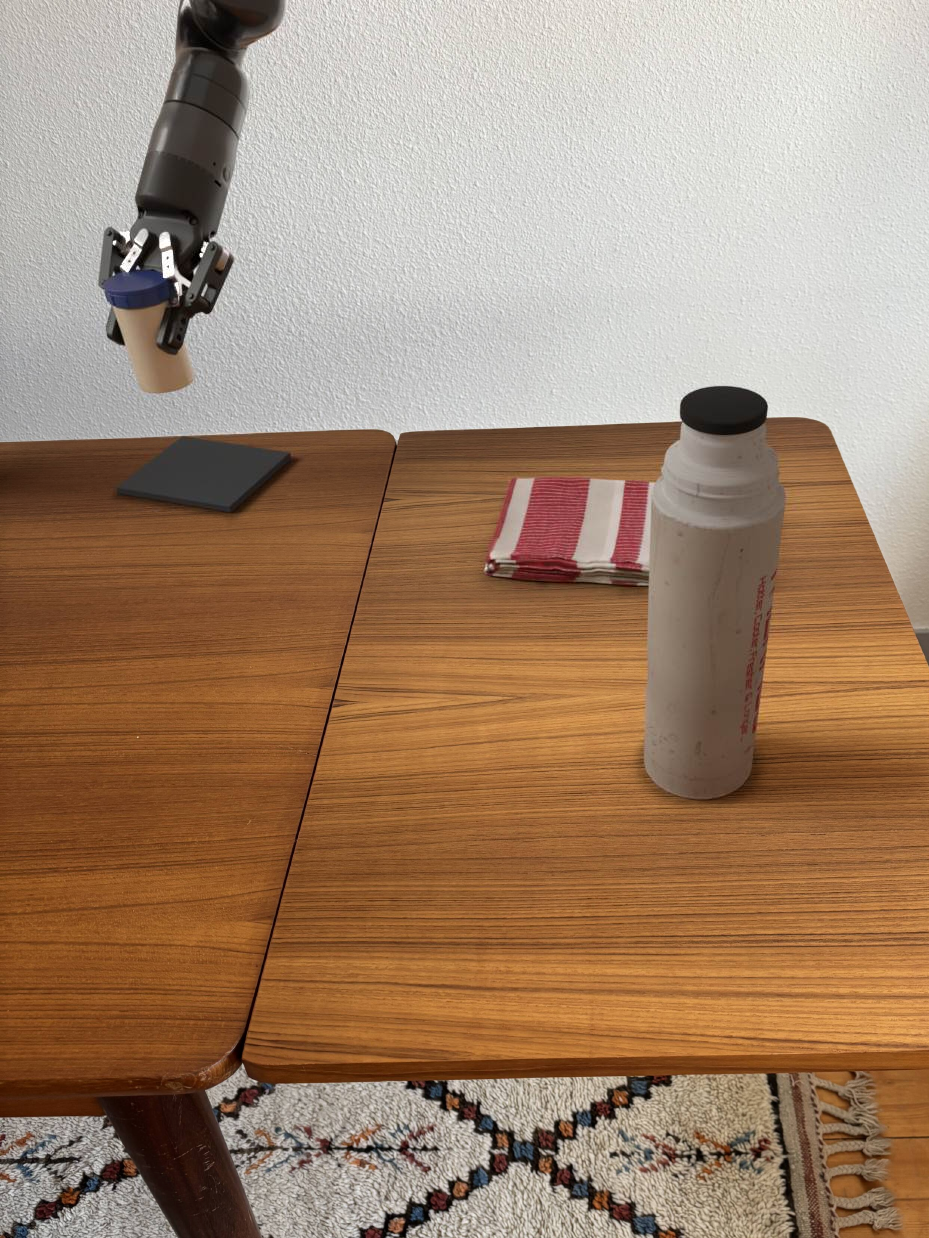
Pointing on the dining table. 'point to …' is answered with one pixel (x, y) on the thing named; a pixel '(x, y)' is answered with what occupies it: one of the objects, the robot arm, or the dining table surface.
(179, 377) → the jar
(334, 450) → the dining table surface
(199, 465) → the mat
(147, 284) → the lid
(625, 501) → the dish towel
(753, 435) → the thermos bottle
